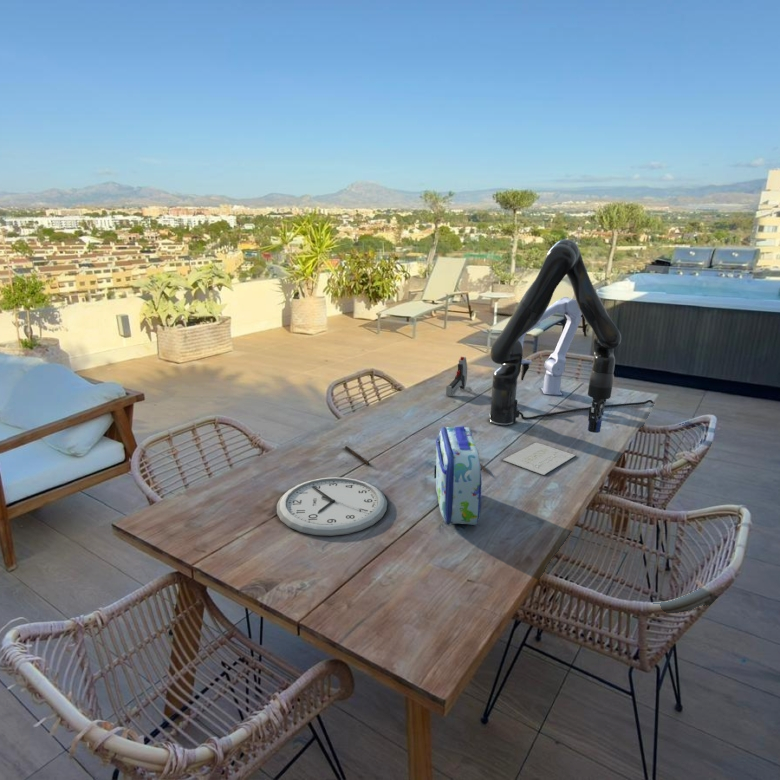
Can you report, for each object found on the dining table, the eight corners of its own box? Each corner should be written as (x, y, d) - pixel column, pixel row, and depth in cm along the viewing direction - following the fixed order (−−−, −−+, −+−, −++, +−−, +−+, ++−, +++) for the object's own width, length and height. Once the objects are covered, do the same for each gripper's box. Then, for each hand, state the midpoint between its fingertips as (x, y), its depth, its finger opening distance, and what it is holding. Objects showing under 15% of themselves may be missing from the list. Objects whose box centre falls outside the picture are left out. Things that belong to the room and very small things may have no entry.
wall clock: (392, 527, 129) (268, 531, 127) (391, 533, 130) (269, 537, 127) (383, 473, 158) (282, 475, 155) (383, 478, 158) (282, 480, 156)
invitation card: (535, 442, 186) (575, 454, 176) (535, 442, 187) (575, 455, 176) (502, 459, 172) (543, 474, 162) (502, 460, 172) (543, 475, 162)
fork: (483, 474, 162) (483, 469, 161) (463, 454, 176) (463, 448, 176) (491, 474, 162) (491, 468, 162) (470, 453, 177) (470, 447, 176)
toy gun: (446, 363, 232) (463, 355, 243) (446, 397, 237) (462, 387, 249) (450, 364, 230) (467, 356, 242) (450, 398, 236) (466, 388, 247)
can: (590, 427, 189) (592, 416, 188) (601, 430, 186) (603, 419, 185) (585, 430, 186) (587, 419, 185) (597, 433, 184) (598, 422, 182)
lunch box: (432, 483, 156) (435, 417, 149) (468, 484, 156) (473, 418, 149) (439, 532, 131) (443, 455, 125) (482, 533, 131) (488, 456, 124)
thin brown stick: (344, 448, 179) (344, 445, 179) (346, 448, 179) (346, 445, 179) (367, 464, 167) (367, 462, 167) (368, 464, 167) (368, 461, 167)
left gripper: (606, 390, 173) (599, 438, 179) (617, 381, 185) (609, 426, 190) (583, 386, 178) (577, 433, 183) (595, 377, 189) (588, 421, 194)
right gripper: (500, 352, 234) (498, 381, 238) (533, 353, 233) (530, 382, 237) (499, 348, 241) (497, 376, 245) (531, 349, 239) (528, 378, 243)
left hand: (594, 429), depth 186 cm, fingers closed on can, 4 cm apart
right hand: (513, 379), depth 241 cm, fingers open, 7 cm apart
